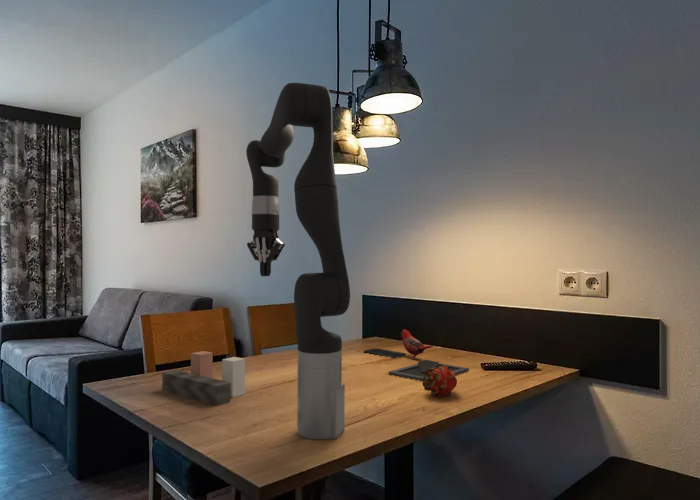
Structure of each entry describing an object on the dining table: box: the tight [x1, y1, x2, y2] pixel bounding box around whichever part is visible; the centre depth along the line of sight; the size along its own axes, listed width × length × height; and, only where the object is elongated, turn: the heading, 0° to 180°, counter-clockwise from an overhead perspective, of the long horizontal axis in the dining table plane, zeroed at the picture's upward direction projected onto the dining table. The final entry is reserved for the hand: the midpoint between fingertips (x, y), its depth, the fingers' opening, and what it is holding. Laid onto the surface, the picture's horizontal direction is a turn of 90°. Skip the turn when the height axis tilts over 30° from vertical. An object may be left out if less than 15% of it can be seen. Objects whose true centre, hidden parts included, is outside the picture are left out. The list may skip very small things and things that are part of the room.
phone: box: [363, 347, 407, 359], centre depth 189 cm, size 8×1×15 cm
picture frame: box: [388, 359, 470, 382], centre depth 160 cm, size 16×2×21 cm
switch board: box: [161, 369, 231, 407], centre depth 133 cm, size 23×16×6 cm
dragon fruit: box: [421, 366, 458, 398], centre depth 135 cm, size 8×8×12 cm
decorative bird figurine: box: [400, 328, 434, 360], centre depth 179 cm, size 3×18×10 cm, turn 33°
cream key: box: [221, 356, 246, 398], centre depth 130 cm, size 4×4×9 cm
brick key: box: [190, 350, 214, 378], centre depth 138 cm, size 4×4×9 cm
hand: (265, 276), depth 141 cm, fingers closed
